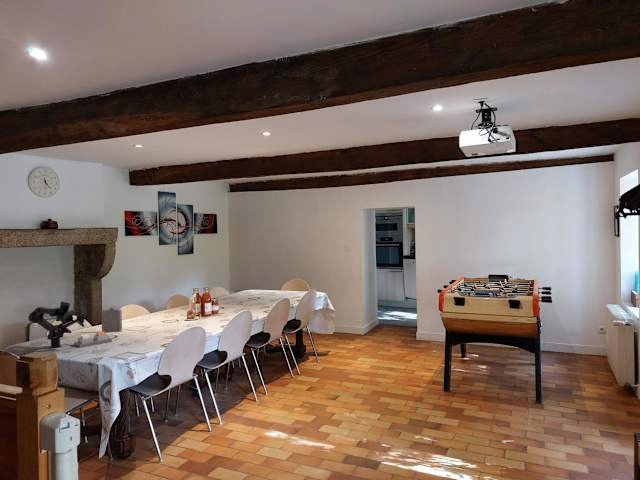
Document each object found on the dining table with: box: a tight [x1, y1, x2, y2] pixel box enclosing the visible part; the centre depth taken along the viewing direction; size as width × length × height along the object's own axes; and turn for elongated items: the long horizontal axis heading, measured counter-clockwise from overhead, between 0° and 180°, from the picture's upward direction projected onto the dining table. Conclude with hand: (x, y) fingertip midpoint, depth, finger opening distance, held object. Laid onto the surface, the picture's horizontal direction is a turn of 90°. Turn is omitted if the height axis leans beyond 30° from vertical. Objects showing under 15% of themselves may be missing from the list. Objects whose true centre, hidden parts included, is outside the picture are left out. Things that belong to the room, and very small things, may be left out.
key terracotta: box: [95, 331, 107, 336], centre depth 332 cm, size 5×5×3 cm
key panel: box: [73, 333, 113, 348], centre depth 328 cm, size 12×22×5 cm, turn 137°
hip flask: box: [101, 306, 123, 333], centre depth 367 cm, size 16×4×20 cm, turn 93°
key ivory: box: [79, 333, 91, 339], centre depth 324 cm, size 5×5×3 cm
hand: (77, 329), depth 307 cm, fingers open, 9 cm apart
